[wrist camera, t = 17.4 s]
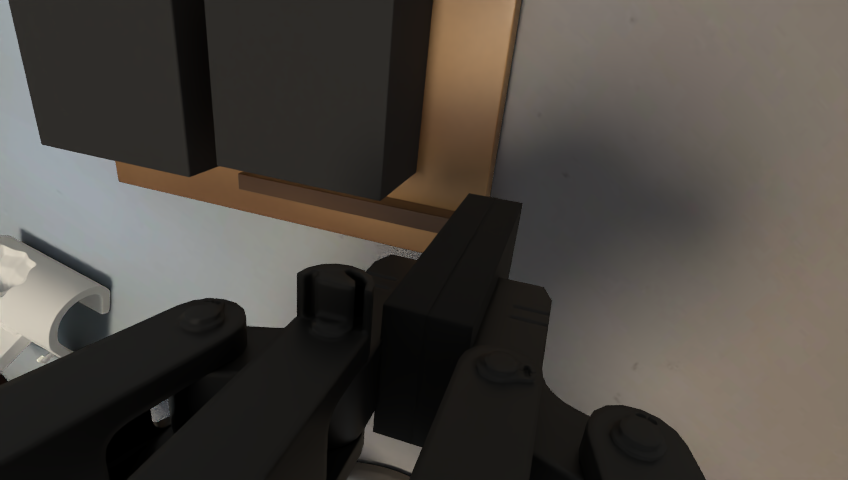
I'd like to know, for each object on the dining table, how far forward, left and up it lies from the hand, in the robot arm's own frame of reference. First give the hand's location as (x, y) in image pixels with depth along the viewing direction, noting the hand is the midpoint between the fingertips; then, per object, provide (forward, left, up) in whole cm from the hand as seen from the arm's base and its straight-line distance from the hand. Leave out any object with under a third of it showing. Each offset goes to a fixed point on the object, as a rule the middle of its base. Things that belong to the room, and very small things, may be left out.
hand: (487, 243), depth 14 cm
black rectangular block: (+3, +8, -7) cm, 11 cm away
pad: (+3, +17, -7) cm, 18 cm away
